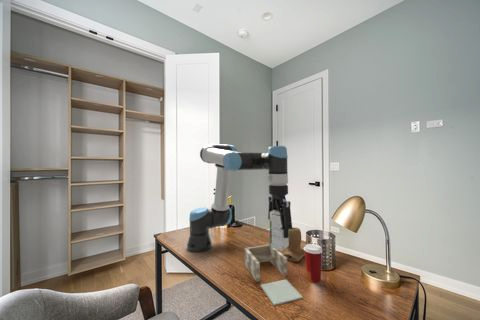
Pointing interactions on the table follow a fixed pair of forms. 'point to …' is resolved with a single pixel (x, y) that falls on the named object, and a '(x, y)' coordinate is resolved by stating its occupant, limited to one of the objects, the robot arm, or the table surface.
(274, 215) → the syrup box
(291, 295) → the mat
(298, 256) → the brown boot
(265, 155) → the robot arm
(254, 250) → the cubby
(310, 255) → the paper cup
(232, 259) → the table surface
